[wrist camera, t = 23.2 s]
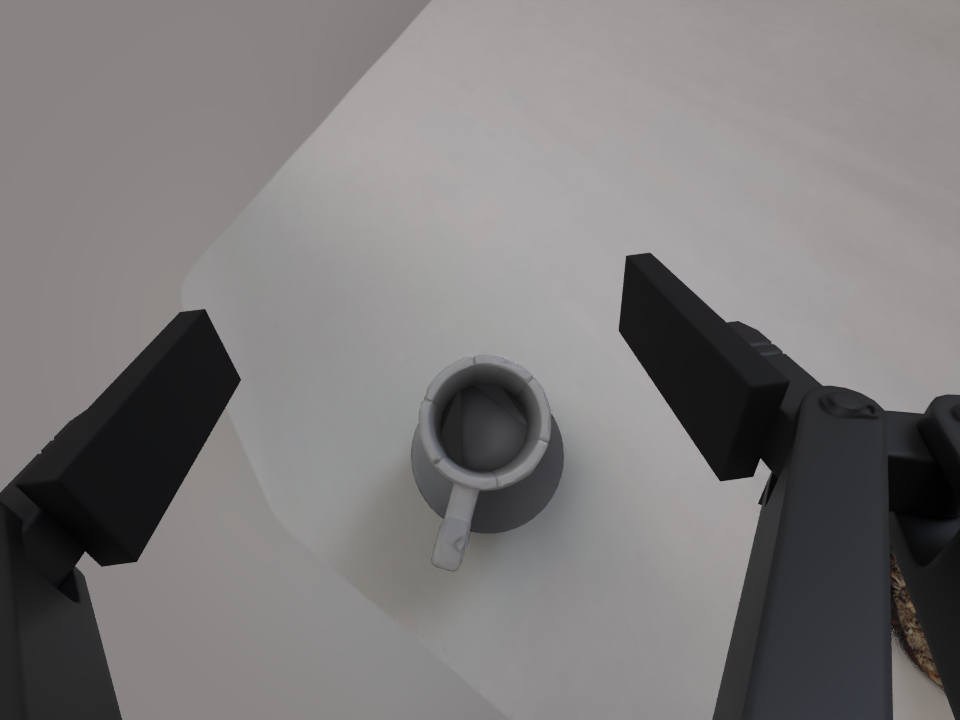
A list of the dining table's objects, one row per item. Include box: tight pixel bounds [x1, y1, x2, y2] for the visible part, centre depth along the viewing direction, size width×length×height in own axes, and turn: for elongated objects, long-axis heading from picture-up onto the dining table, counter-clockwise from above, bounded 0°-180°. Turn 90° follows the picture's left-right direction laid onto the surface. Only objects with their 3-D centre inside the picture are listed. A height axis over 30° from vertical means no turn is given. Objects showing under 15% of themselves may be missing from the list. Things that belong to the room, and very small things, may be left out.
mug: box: [418, 355, 551, 571], centre depth 24 cm, size 8×12×12 cm, turn 164°
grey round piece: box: [411, 385, 564, 533], centre depth 34 cm, size 10×10×7 cm
